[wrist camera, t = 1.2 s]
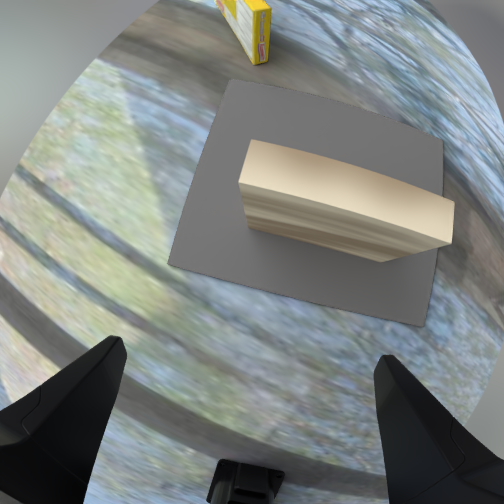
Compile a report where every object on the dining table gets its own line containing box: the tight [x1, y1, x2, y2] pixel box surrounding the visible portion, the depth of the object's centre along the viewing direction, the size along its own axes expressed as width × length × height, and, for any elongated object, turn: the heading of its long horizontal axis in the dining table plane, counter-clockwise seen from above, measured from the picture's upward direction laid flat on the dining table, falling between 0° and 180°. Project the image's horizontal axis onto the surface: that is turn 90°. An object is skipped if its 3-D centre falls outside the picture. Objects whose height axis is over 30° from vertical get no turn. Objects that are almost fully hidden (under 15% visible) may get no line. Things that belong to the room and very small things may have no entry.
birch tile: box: [238, 139, 454, 263], centre depth 20 cm, size 2×12×11 cm, turn 75°
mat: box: [167, 79, 443, 327], centre depth 26 cm, size 20×24×1 cm
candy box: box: [214, 0, 271, 65], centre depth 25 cm, size 16×2×8 cm, turn 20°
